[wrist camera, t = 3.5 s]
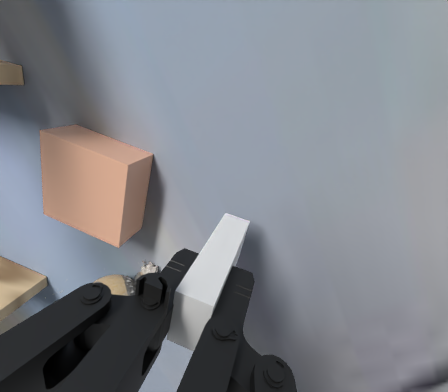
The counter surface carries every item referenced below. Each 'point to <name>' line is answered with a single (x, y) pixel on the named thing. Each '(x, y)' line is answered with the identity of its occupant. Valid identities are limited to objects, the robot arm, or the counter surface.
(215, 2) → the counter surface
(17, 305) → the frame
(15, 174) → the counter surface
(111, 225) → the tile
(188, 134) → the counter surface
